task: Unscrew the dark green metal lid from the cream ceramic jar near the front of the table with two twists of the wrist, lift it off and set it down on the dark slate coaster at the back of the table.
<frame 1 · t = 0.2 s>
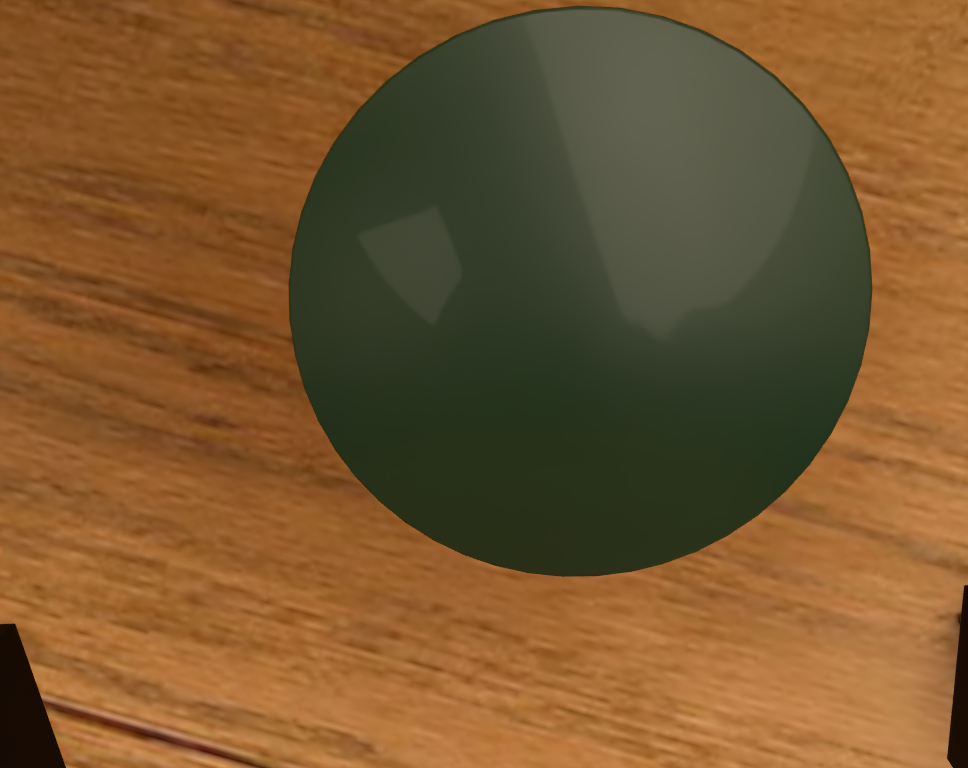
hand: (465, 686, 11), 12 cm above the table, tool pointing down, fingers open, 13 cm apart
jar lid: (568, 318, 10), point 10 cm above the table, screwed on, not yet turned
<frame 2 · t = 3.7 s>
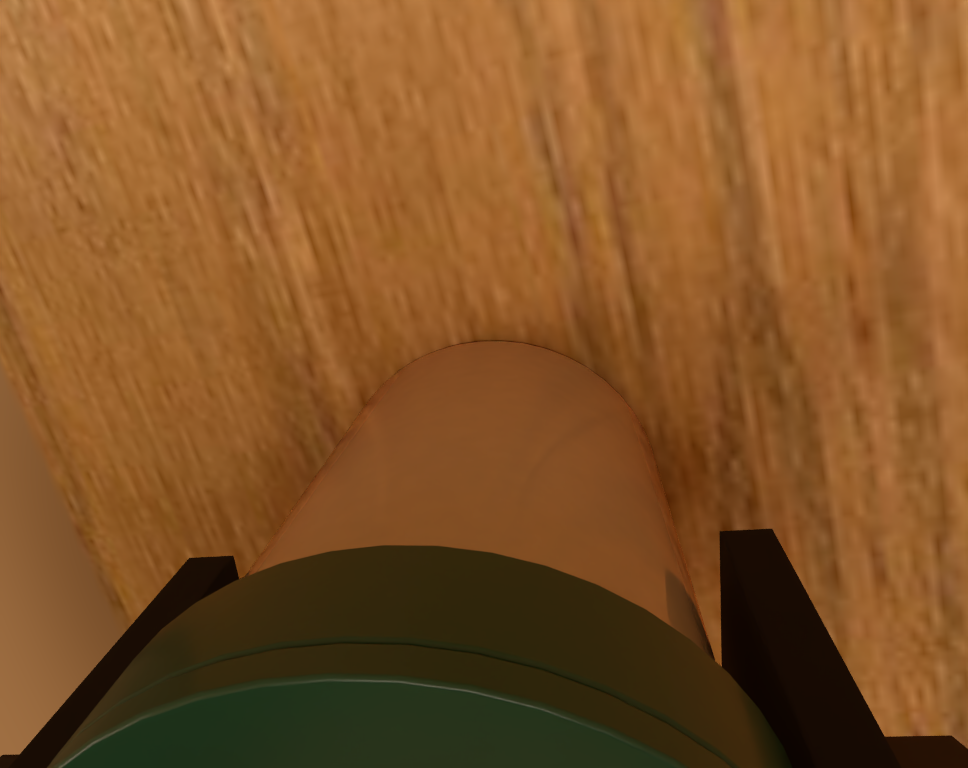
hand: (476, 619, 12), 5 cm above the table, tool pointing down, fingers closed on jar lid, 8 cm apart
jar: (497, 492, 16), on the table
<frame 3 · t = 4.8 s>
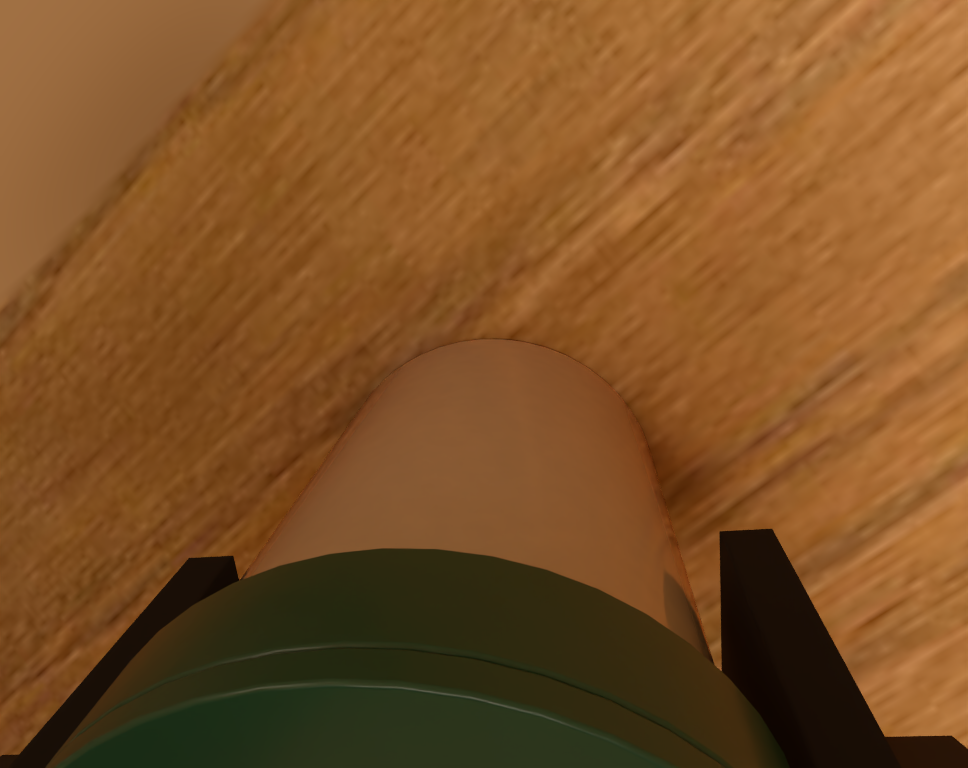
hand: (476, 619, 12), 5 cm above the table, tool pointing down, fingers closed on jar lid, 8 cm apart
jar: (495, 489, 16), on the table
when the fingers open (4 cm above the table, at t = 6.1 s): jar lid stays where it is, point 10 cm above the table.
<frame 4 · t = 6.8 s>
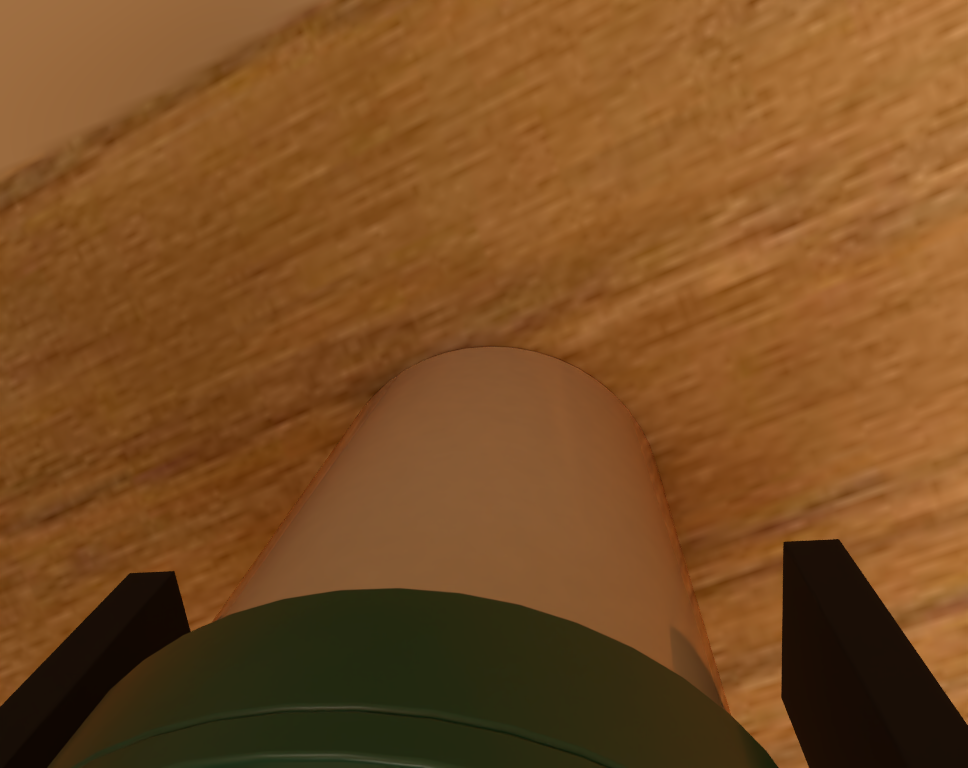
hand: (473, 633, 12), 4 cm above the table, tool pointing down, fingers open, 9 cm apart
jar: (495, 501, 16), on the table
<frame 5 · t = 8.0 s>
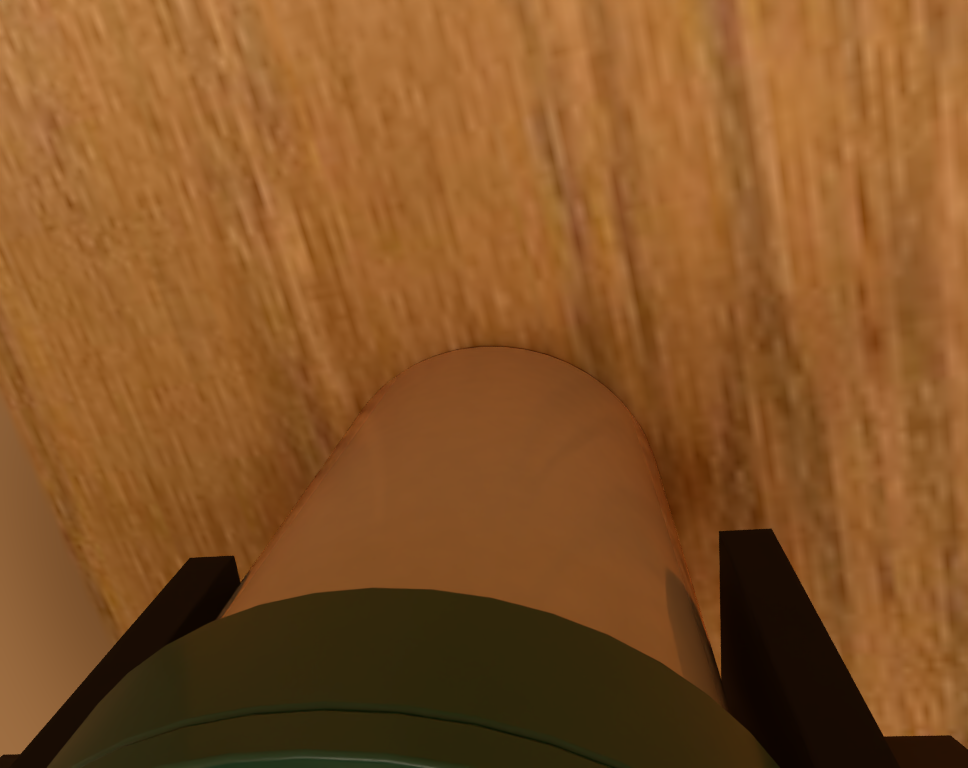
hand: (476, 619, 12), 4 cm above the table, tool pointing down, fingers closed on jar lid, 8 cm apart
jar: (496, 501, 16), on the table
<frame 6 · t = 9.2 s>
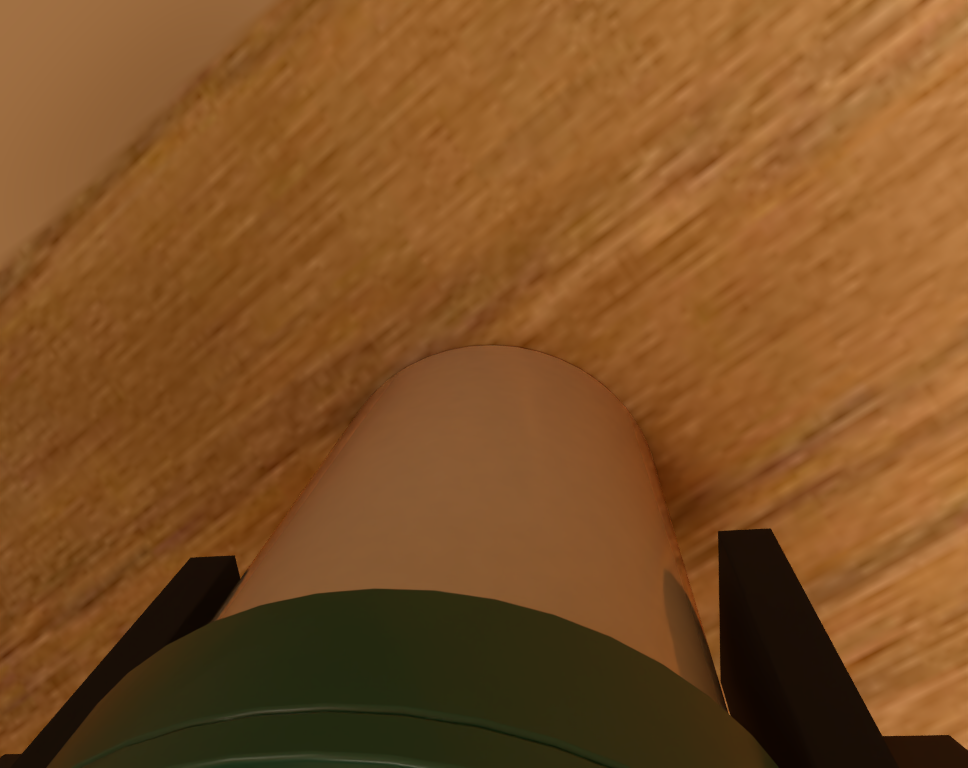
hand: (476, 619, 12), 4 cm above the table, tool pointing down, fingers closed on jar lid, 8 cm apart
jar: (494, 499, 16), on the table
when the fingers open (2 cm above the table, at t = 17.6 s): jar lid drops 7 cm, resting on coaster.
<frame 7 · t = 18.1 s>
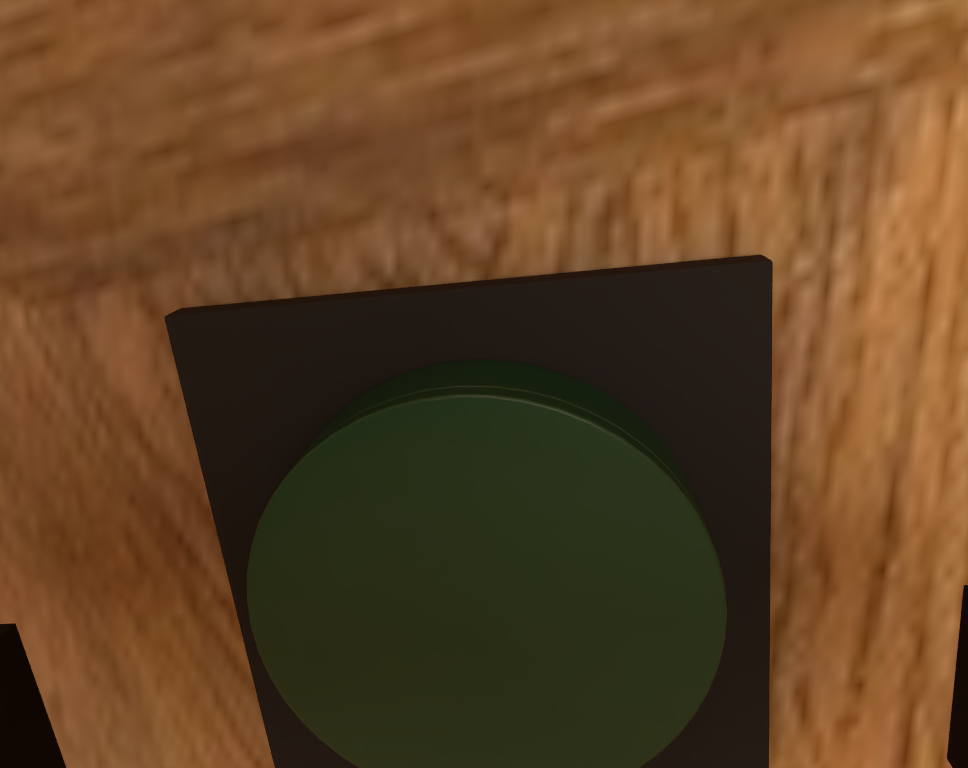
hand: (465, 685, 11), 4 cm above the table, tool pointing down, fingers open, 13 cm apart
coaster: (489, 543, 14), on the table
jar lid: (482, 606, 12), point 2 cm above the table, off its thread, touching coaster
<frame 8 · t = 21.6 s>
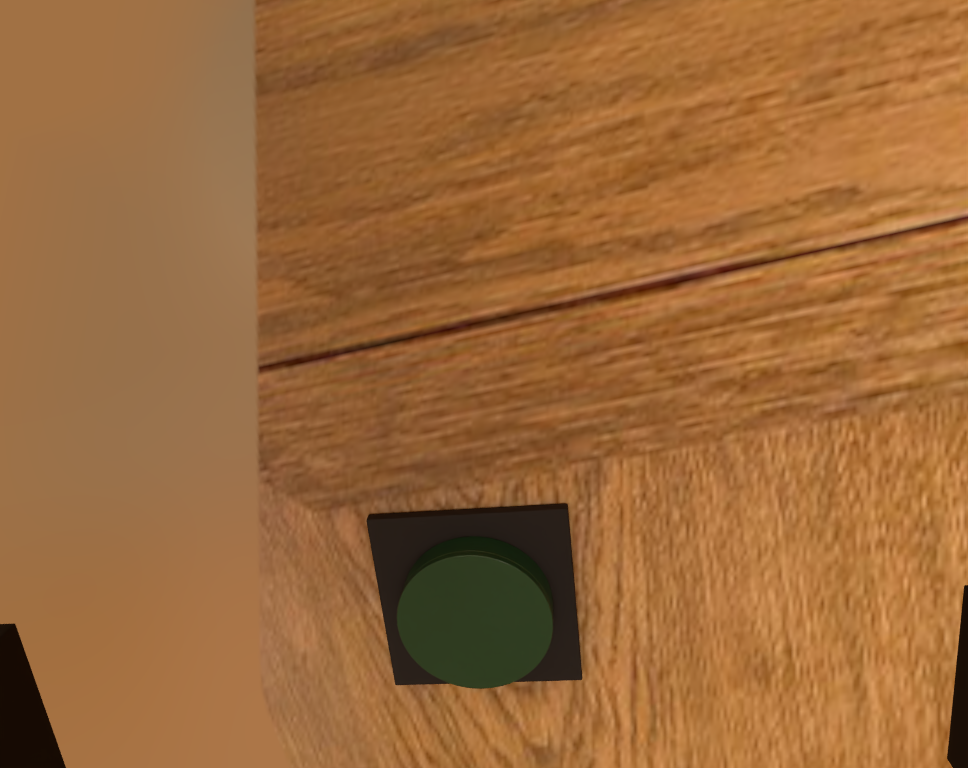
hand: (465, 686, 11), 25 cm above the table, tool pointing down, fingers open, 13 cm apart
coaster: (477, 595, 39), on the table
jar lid: (475, 619, 37), point 2 cm above the table, off its thread, touching coaster
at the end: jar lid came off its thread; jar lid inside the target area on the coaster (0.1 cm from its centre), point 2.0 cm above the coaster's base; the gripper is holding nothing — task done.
